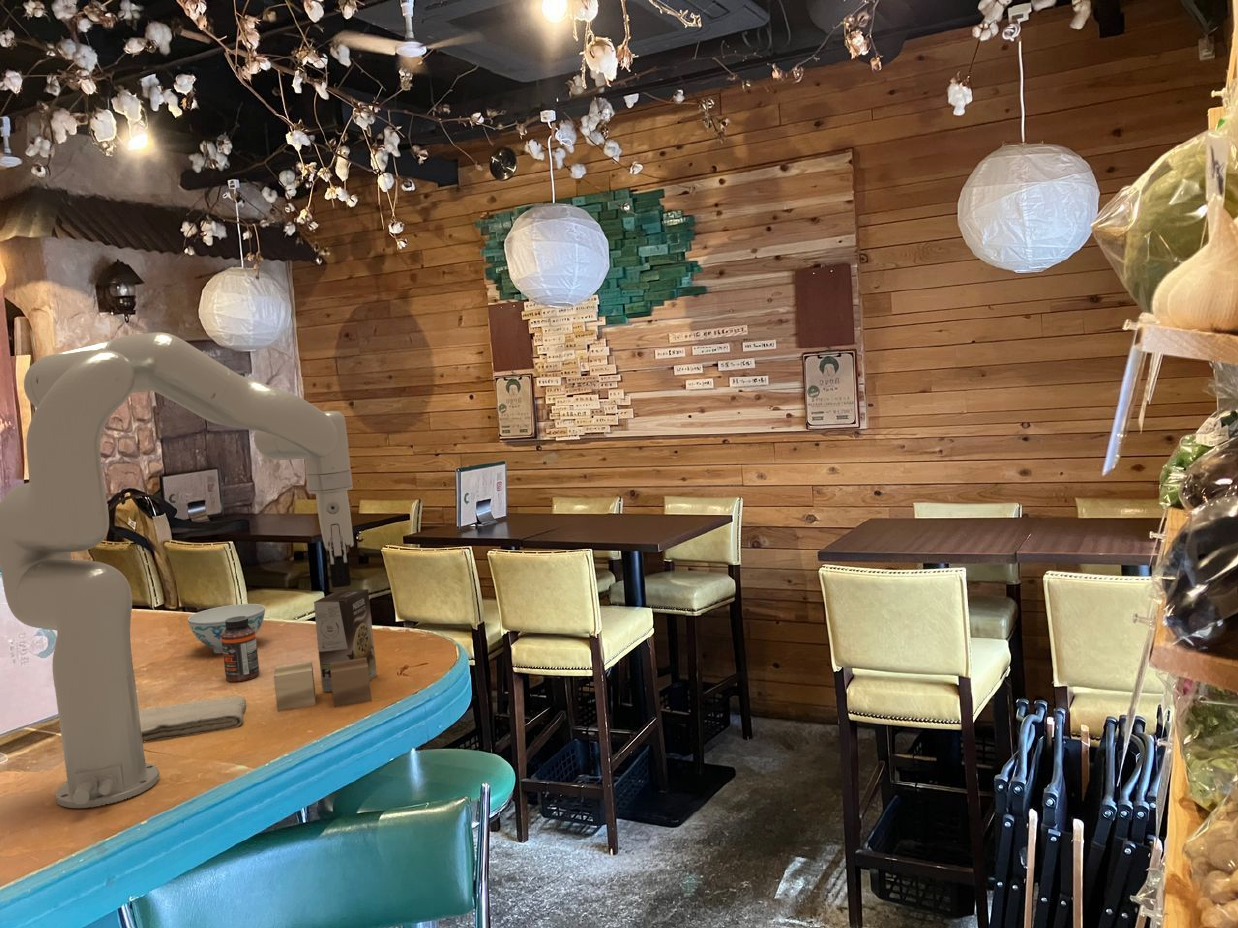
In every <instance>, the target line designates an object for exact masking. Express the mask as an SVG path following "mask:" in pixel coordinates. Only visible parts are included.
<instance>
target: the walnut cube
mask: <svg viewBox="0 0 1238 928" xmlns="http://www.w3.org/2000/svg"><path fill="white" fill-rule="evenodd" d="M330 670H331V681H332V691H331V692H332V698H333V707H334V708H339V707H340V708H341V707H344V706H350V705H357V704H363V703H368V702H372V692H371V682H370V681H371V680H370V681H369V671H368V664H367V658H359V659H352V660H346V661H339V662H332V663H330Z"/></svg>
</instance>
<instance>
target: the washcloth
mask: <svg viewBox="0 0 1238 928" xmlns="http://www.w3.org/2000/svg"><path fill="white" fill-rule="evenodd" d="M246 707H247V700H246V698H245V697H244V696H241V695H238V696H237V695H236V696H235V695H234V696H229V697H228V696H227V697H221V698H214V699H204V700H201V699H200V700H196V701H190V702H183V703H178V704H173V705H172V704H169V705H165V706H156V707H149V708H143V709H139V716H140V723H141V731H142V739H143V743H148V742H147V741H150V742H155V741H161V740H167V739H168V740H169V739H173V738H181V737H185V736H187V737H188V736H193V735H199V734H204V733H205V734H206V733H211V732H216V731H222V730H223V731H224V730H229V729H237V728H238V727H240V726H241V725H242V724H243V721H244V713H245V710H246ZM144 741H146V742H144Z"/></svg>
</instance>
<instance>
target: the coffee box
mask: <svg viewBox="0 0 1238 928" xmlns="http://www.w3.org/2000/svg"><path fill="white" fill-rule="evenodd" d="M313 607H314V609H313V610H314V618H315V630H316V637H317V650H318V658H319V668H320V669H319V670H320V677H321V678H320V679H321V689H322V692H333V691H332V681H331V670H330V663H332V662H339V661H346V660H352V659H359V658H367V664H368V671H369V681H371V680H373V679H374V678H375V677H376V676H377V674H378V673H377V672H378V671H377V662H376V653H375V645H374V642H375V641H374V634H373V623H372V613H371V603H370V594H369V589H368V588H367V589H363V588H362V589H360V588H359V589H347V590H336V591H334V592H332V593H330V594H328V595H326V596H324V597H321V598H319V599H318V600H317V599H316V601H313Z"/></svg>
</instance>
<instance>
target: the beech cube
mask: <svg viewBox="0 0 1238 928" xmlns="http://www.w3.org/2000/svg"><path fill="white" fill-rule="evenodd" d="M273 682H274V683H273V684H274V691H275V699H276V701H275V702H276V708H277V712H280V710H281V711H286V709H288V710H293V709H292V708H294V709H298V708H299V709H300V708H305V707H310V706H316V696H317V695H316V685H315V677H314V667H313V661H312V660H310V661H303V662H298V663H297V662H296V663H290V664H283V665H277V666H275V667H274V673H273Z"/></svg>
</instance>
